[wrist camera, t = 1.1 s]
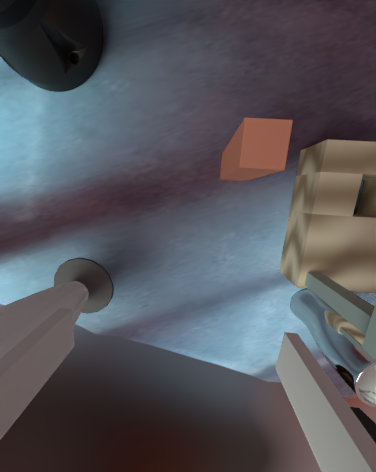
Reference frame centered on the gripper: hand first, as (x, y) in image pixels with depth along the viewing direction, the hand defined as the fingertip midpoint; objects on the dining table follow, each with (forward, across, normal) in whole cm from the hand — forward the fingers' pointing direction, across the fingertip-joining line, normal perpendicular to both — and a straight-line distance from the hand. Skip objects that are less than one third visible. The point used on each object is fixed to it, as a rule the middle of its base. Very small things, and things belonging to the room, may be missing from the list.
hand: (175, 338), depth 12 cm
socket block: (+22, +24, +7) cm, 33 cm away
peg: (+22, +6, +13) cm, 26 cm away
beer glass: (+22, +23, -9) cm, 33 cm away
